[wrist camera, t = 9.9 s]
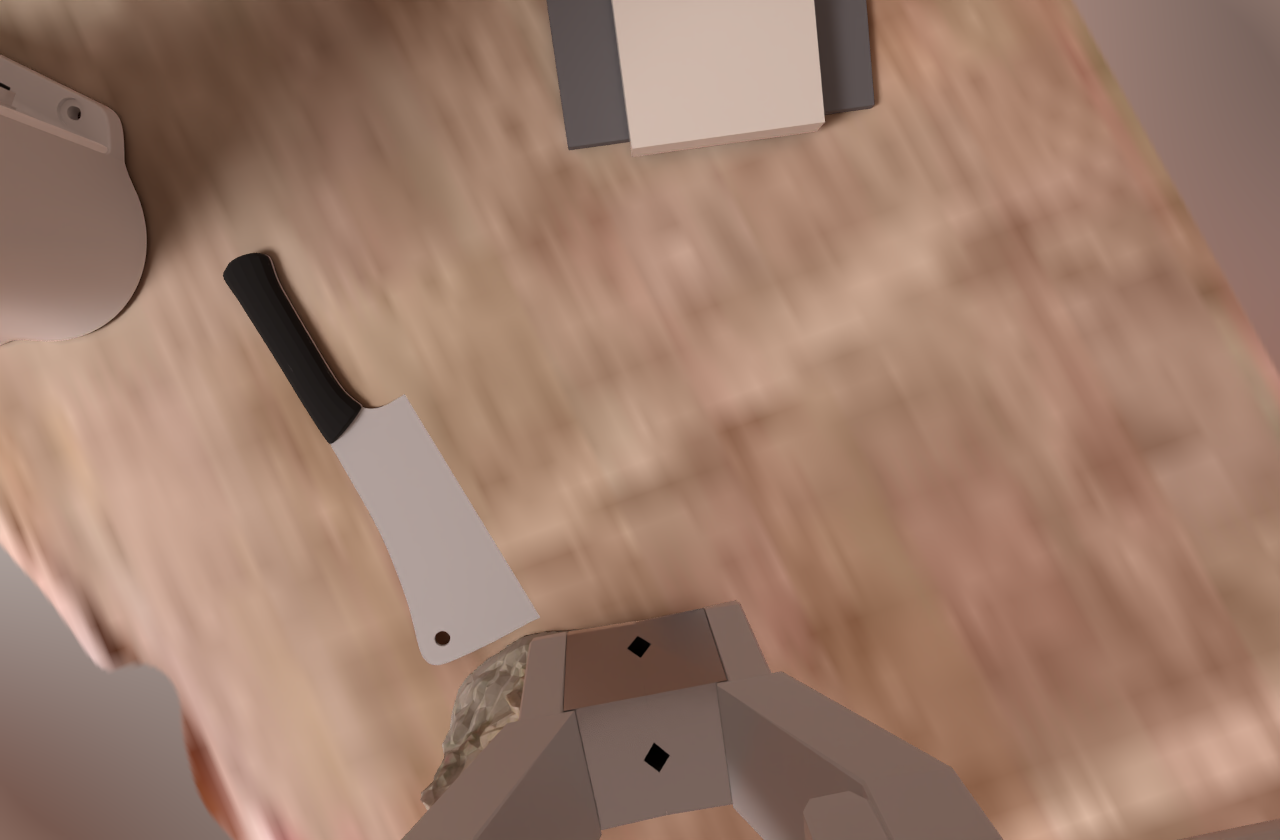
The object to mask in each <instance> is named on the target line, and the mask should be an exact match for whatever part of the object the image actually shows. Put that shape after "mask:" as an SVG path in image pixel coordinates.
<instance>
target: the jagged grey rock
mask: <svg viewBox="0 0 1280 840" xmlns="http://www.w3.org/2000/svg"><path fill="white" fill-rule="evenodd" d="M571 631H575V630H571ZM562 632H566V633H568V632H569V631H560V632H556V631H551V632H550V633H549V632H548V633H547V632H542V633H539V634H532V635H528V636H525V637H522V638H520V639H519V640H517V641H516V642H513V643H512V644H510V645H507V647H506V648H505V649H504V650H502V651H500V653H499V654H496V655H494V656H493V657H491V658H489V659H488V660H486V661H485V662H484V663H483V664H482V665H480V666H479V667H478V668H477V669H476V670H474V672H473V673H472V674H470V675H469V676H468V677H467V678H466V679H465V681H464V682H463V684H462V685H461V686H460V688H459V690H458V693H457V696H456V700H455V704H454V707H453V711H452V716H451V724H450V730H449V732H448V734H447V736H446V738H445V740H444V742H443V744H442V747H443V751H444V759H443V761H442V763H441V765H440V767H439V769H438V770H437V772H436V774H435V776H434V780H433V782H432V783H431V784H430V785H429V786H428V787H427V788H426V789H425V790H424V791H423V792H422V793H421V799H420V800H421V801H422V803H423V804H424V805H425V807H426V809H427V810H429V809H430V808H431V807H432V805H433V804H434V803H435V802H436V801H437V800H438V799H439V798H440V797H441V796H442V794H443V793H444V792H445V791H446V790H447V789H448V788H449V787H450V786H451V785H452V783H453V782H454V781H455V780H456V779H457V778H458V777H459V776H460V775H461V774H462V772H463V771H464V770H465V769H466V768H467V767H468V766H469V765H470V764H471V763H472V761H473V760H474V759H475V758H476V757H477V756H478V755H479V754H480V753H481V752H482V750H483V749H484V748H485V747H486V746H487V745H488V744H489V743H490V742H491V741H492V739H493V738H494V737H495V736H496V735H497V734H498V733H499V732H500V731H501V730H502V729H503V727H504V726H505V725H506V724H507V723H511V722H516V721H518V719H519V712H520V705H521V698H522V692H523V685H524V678H525V671H526V664H527V657H528V651H529V644H530V642H531V641H532V639H533V638H535V637H541V636H546V635H551V634H557V633H562Z"/></svg>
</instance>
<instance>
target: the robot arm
mask: <svg viewBox="0 0 1280 840" xmlns="http://www.w3.org/2000/svg"><path fill="white" fill-rule="evenodd" d="M80 111H81V117H80V118H79V119H78V113H79V112H80ZM146 248H147V235H146V225H145V219H144V214H143V210H142V207H141V203H140V201H139V198H138V195H137V193H136V191H135V188H134V186H133V184H132V182H131V179H130V177H129V175H128V172H127V169H126V166H125V162H124V136H123V129H122V124H121V121H120V119H119V117H118V115H117V114H116V113H115V112H114V111H113V110H112V109H110V108H109V107H107V106H105V105H103V104H101V103H99V102H97V101H95V100H93V99H91V98H89V97H87V96H85V95H83V94H81V93H78V92H76V91H74V90H72V89H70V88H68V87H66V86H64V85H62V84H60V83H58V82H56V81H54V80H52V79H50V78H48V77H46V76H44V75H42V74H40V73H38V72H36V71H34V70H32V69H30V68H28V67H25V66H23V65H21V64H19V63H17V62H15V61H13V60H11V59H9V58H7V57H5V56H3V55H1V54H0V345H2V344H5V343H7V342H10V341H13V340H33V341H62V340H68V339H73V338H77V337H80V336H83V335H86V334H88V333H91V332H93V331H95V330H97V329H98V328H100V327H102V326H103V325H105V324H106V323H108V322H109V321H110V320H111V319H113V318H114V317H115V316H116V315H117V314H118V313H119V312H120V311H121V310H122V309H123V308H124V306H125V305H126V304H127V302H128V301H129V300H130V298H131V297H132V295H133V293H134V292H135V289H136V287H137V285H138V283H139V281H140V278H141V275H142V272H143V268H144V264H145V258H146ZM730 804H733V808H734V809H735V810H736V811H737V812H738V813H739V814H740V815H741V816H742V817H743V818H744V819H745V820H746V821H747V822H748V823H749V824H750V825H751V826H752V827H753V828H754V830H755V831H756V832H757V833H758V834H759V835H760V836H761V837H762V838H763V839H764V840H1003V839H1002V837H1001V836H1000V834H999V833H998V832H997V830H996V829H995V827H994V826H993V825H992V823H991V822H990V820H989V819H988V818H987V816H986V815H985V813H984V812H983V811H982V809H981V808H980V806H979V805H978V803H977V802H976V801H975V799H974V798H973V796H972V795H971V794H970V792H969V791H968V789H967V788H966V787H965V785H964V784H963V782H962V781H961V780H960V778H959V777H958V775H957V774H956V773H955V771H954V770H953V768H951V767H950V766H948V765H946V764H944V763H943V762H941V761H939V760H937V759H936V758H934V757H932V756H930V755H929V754H927V753H925V752H923V751H921V750H920V749H918V748H916V747H914V746H913V745H911V744H909V743H907V742H906V741H904V740H902V739H900V738H899V737H897V736H895V735H893V734H891V733H890V732H888V731H886V730H884V729H883V728H881V727H879V726H877V725H876V724H874V723H872V722H870V721H869V720H867V719H865V718H863V717H862V716H860V715H858V714H856V713H854V712H853V711H851V710H849V709H847V708H846V707H844V706H842V705H840V704H839V703H837V702H835V701H833V700H832V699H830V698H828V697H826V696H824V695H823V694H821V693H819V692H817V691H816V690H814V689H812V688H810V687H809V686H807V685H805V684H803V683H802V682H800V681H798V680H796V679H794V678H793V677H791V676H789V675H787V674H786V673H784V672H776V673H771V671H770V669H769V667H768V664H767V662H766V660H765V658H764V656H763V653H762V651H761V649H760V647H759V644H758V642H757V640H756V638H755V635H754V633H753V631H752V629H751V626H750V624H749V622H748V620H747V618H746V615H745V613H744V611H743V609H742V606H741V604H740V603H739V602H738V601H736V600H735V601H730V602H726V603H721V604H717V605H712V606H707V607H703V608H701V609H696V610H691V611H686V612H681V613H676V614H671V615H666V616H662V617H657V618H652V619H647V620H642V621H637V622H636V621H631V622H624V623H618V624H612V625H606V626H600V627H593V628H587V629H581V630H575V631H569V632H568V633H566V632H562V633H557V634H551V635H546V636H541V637H535V638H533V639H532V641H531V642H530V644H529V651H528V657H527V664H526V671H525V678H524V685H523V692H522V698H521V705H520V712H519V719H518V721H516V722H511V723H507V724H506V725H505V726H504V727H503V729H502V730H501V731H500V732H499V733H498V734H497V735H496V736H495V737H494V738H493V739H492V741H491V742H490V743H489V744H488V745H487V746H486V747H485V748H484V749H483V750H482V752H481V753H480V754H479V755H478V756H477V757H476V758H475V759H474V760H473V761H472V763H471V764H470V765H469V766H468V767H467V768H466V769H465V770H464V771H463V772H462V774H461V775H460V776H459V777H458V778H457V779H456V780H455V781H454V782H453V783H452V785H451V786H450V787H449V788H448V789H447V790H446V791H445V792H444V793H443V794H442V796H441V797H440V798H439V799H438V800H437V801H436V802H435V803H434V804H433V805H432V807H431V808H430V809H429V810H428V811H427V812H426V813H425V814H424V815H423V816H422V818H421V819H420V820H419V821H418V822H417V823H416V824H415V825H414V826H413V827H412V829H411V830H410V831H409V832H408V833H407V834H406V835H405V836H404V837H403V838H402V840H599V839H600V837H601V835H602V834H601V830H604V829H608V828H612V827H617V826H621V825H625V824H630V823H634V822H638V821H643V820H647V819H652V818H656V817H660V816H665V815H670V814H676V813H682V812H688V811H694V810H700V809H706V808H712V807H718V806H724V805H730ZM666 812H667V813H666ZM1178 840H1280V819H1275V820H1270V821H1265V822H1260V823H1256V824H1251V825H1246V826H1241V827H1236V828H1232V829H1227V830H1222V831H1217V832H1212V833H1207V834H1203V835H1198V836H1193V837H1188V838H1183V839H1178Z"/></svg>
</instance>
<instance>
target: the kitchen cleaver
mask: <svg viewBox="0 0 1280 840" xmlns="http://www.w3.org/2000/svg"><path fill="white" fill-rule="evenodd" d="M223 277H224V280H225V282H226V283H227V285H228V286H229V288H230V289H231V290H232V292H233V293H234V295H235V296H236V298H237V299H238V301H239V302H240V304H241V305H242V307H243V308H244V310H245V312H246V313H247V315H248V316H249V318H250V320H251V321H252V323H253V324H254V326H255V328H256V329H257V331H258V332H259V334H260V335H261V337H262V339H263V340H264V342H265V343H266V345H267V346H268V348H269V350H270V351H271V353H272V354H273V356H274V358H275V359H276V361H277V363H278V364H279V366H280V367H281V369H282V371H283V372H284V374H285V376H286V377H287V379H288V381H289V382H290V384H291V386H292V387H293V389H294V390H295V392H296V394H297V395H298V397H299V399H300V400H301V402H302V403H303V405H304V407H305V408H306V410H307V411H308V413H309V415H310V416H311V418H312V419H313V421H314V423H315V424H316V426H317V427H318V429H319V430H320V432H321V433H322V435H323V436H324V438H325V439H326V440H327V442H328V443H329V444H331V446H332V448H333V450H334V452H335V453H336V455H337V457H338V459H339V460H340V462H341V464H342V466H343V467H344V469H345V471H346V473H347V474H348V476H349V478H350V479H351V481H352V483H353V485H354V486H355V488H356V490H357V492H358V493H359V495H360V497H361V499H362V500H363V502H364V504H365V506H366V508H367V509H368V511H369V513H370V515H371V517H372V518H373V520H374V522H375V524H376V526H377V528H378V530H379V532H380V534H381V536H382V538H383V540H384V543H385V545H386V547H387V549H388V552H389V554H390V557H391V559H392V562H393V564H394V567H395V569H396V572H397V574H398V577H399V580H400V582H401V585H402V588H403V591H404V594H405V596H406V599H407V603H408V606H409V609H410V613H411V617H412V621H413V625H414V629H415V633H416V637H417V641H418V645H419V648H420V651H421V654H422V656H423V658H424V659H425V660H426V661H427V662H428V663H430V664H432V665H441V664H445V663H448V662H451V661H453V660H455V659H458V658H460V657H462V656H464V655H467V654H469V653H471V652H473V651H475V650H477V649H480V648H482V647H484V646H486V645H488V644H490V643H492V642H494V641H496V640H498V639H500V638H501V637H503V636H505V635H507V634H509V633H511V632H513V631H514V630H516V629H518V628H520V627H522V626H524V625H526V624H528V623H530V622H531V621H534V620H536V619H538V618H540V616H539V615H538V613H537V611H536V610H535V608H534V606H533V605H532V603H531V601H530V600H529V598H528V596H527V595H526V593H525V592H524V590H523V588H522V587H521V585H520V583H519V582H518V580H517V578H516V577H515V575H514V573H513V572H512V570H511V569H510V567H509V565H508V564H507V562H506V560H505V559H504V557H503V555H502V554H501V552H500V550H499V549H498V547H497V545H496V544H495V542H494V541H493V539H492V537H491V536H490V534H489V532H488V531H487V529H486V527H485V526H484V524H483V522H482V521H481V519H480V518H479V516H478V514H477V513H476V511H475V509H474V508H473V506H472V504H471V503H470V501H469V499H468V498H467V496H466V494H465V493H464V491H463V490H462V488H461V486H460V485H459V483H458V481H457V480H456V478H455V476H454V475H453V473H452V471H451V470H450V468H449V467H448V465H447V463H446V462H445V460H444V458H443V457H442V455H441V453H440V452H439V450H438V448H437V447H436V445H435V443H434V442H433V440H432V439H431V437H430V435H429V434H428V432H427V430H426V429H425V427H424V425H423V424H422V422H421V420H420V419H419V417H418V415H417V414H416V412H415V411H414V409H413V407H412V406H411V404H410V402H409V401H408V399H407V397H406V396H405V394H404V395H402V396H401V397H399V398H398V399H396V400H394V401H393V402H391V403H389V404H387V405H385V406H382V407H379V408H374V409H371V408H364V407H363V406H362V405H361V404H360V403H359V402H358V401H356V400H355V399H354V398H352V397H351V396H350V395H349V394H348V393H347V392H346V391H345V390H344V389H343V387H342V386H341V385H340V383H339V382H338V380H337V379H336V377H335V376H334V374H333V373H332V371H331V369H330V368H329V366H328V365H327V363H326V361H325V360H324V358H323V356H322V355H321V353H320V351H319V349H318V348H317V346H316V344H315V343H314V341H313V339H312V338H311V336H310V334H309V333H308V331H307V329H306V328H305V326H304V324H303V322H302V321H301V319H300V317H299V316H298V314H297V312H296V310H295V309H294V307H293V305H292V304H291V302H290V300H289V298H288V297H287V295H286V293H285V291H284V289H283V287H282V285H281V283H280V281H279V279H278V276H277V274H276V271H275V268H274V264H273V262H272V260H271V258H270V257H269V256H268V255H265V254H260V253H251V254H246V255H243V256H240V257H238V258H236V259H234V260H233V261H231V262H230V263H229V264H228V266H227V268H226V269H225V271H224V273H223ZM440 631H445V632H447V633H448V634H449V635H450V641H449V643H447V644H445V645H441V644H438V643H437V642H436V640H435V635H436V634H437V633H438V632H440Z"/></svg>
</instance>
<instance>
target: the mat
mask: <svg viewBox="0 0 1280 840" xmlns="http://www.w3.org/2000/svg"><path fill="white" fill-rule="evenodd" d="M547 6H548V13H549V20H550V27H551V34H552V41H553V47H554V54H555V61H556V68H557V75H558V82H559V89H560V96H561V102H562V109H563V116H564V123H565V130H566V137H567V144H568V149H569V150H574V149H581V148H588V147H596V146H603V145H610V144H617V143H625V142H630V139H629V131H628V124H627V116H626V108H625V101H624V93H623V86H622V78H621V71H620V63H619V55H618V48H617V40H616V33H615V25H614V18H613V10H612V3H611V0H547ZM814 6H815V17H816V28H817V39H818V50H819V61H820V73H821V84H822V95H823V106H824V115H827V114H834V113H841V112H848V111H856V110H863V109H870V108H872V107H873V106H874V93H873V80H872V68H871V55H870V43H869V30H868V17H867V5H866V0H814Z"/></svg>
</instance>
